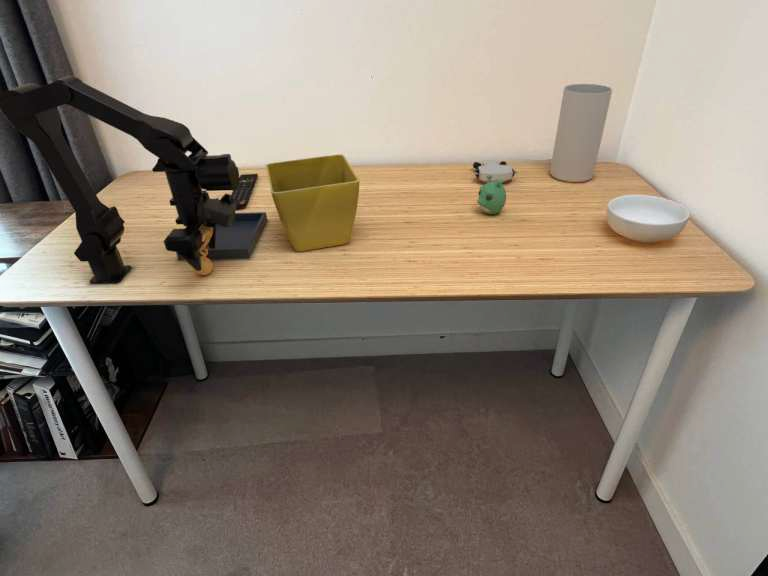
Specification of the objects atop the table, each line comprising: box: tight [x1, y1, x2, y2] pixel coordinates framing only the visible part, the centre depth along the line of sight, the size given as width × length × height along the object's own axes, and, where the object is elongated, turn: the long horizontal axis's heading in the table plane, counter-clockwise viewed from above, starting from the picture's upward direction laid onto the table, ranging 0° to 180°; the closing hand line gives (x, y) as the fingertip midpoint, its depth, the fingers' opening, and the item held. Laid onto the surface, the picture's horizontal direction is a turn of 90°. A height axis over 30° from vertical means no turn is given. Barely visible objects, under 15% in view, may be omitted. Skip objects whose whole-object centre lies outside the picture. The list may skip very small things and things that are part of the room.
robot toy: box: [470, 158, 519, 184], centre depth 145 cm, size 12×4×15 cm
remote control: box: [230, 173, 259, 211], centre depth 142 cm, size 5×24×1 cm, turn 4°
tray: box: [176, 211, 268, 261], centre depth 118 cm, size 20×17×2 cm
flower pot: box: [265, 153, 360, 253], centre depth 113 cm, size 19×19×17 cm
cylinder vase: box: [549, 83, 613, 183], centre depth 139 cm, size 12×12×25 cm
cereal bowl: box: [606, 194, 690, 244], centre depth 111 cm, size 17×17×7 cm
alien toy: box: [476, 175, 507, 215], centre depth 123 cm, size 7×8×10 cm
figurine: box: [193, 226, 214, 276], centre depth 102 cm, size 8×6×12 cm
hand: (206, 258), depth 103 cm, fingers open, 9 cm apart
